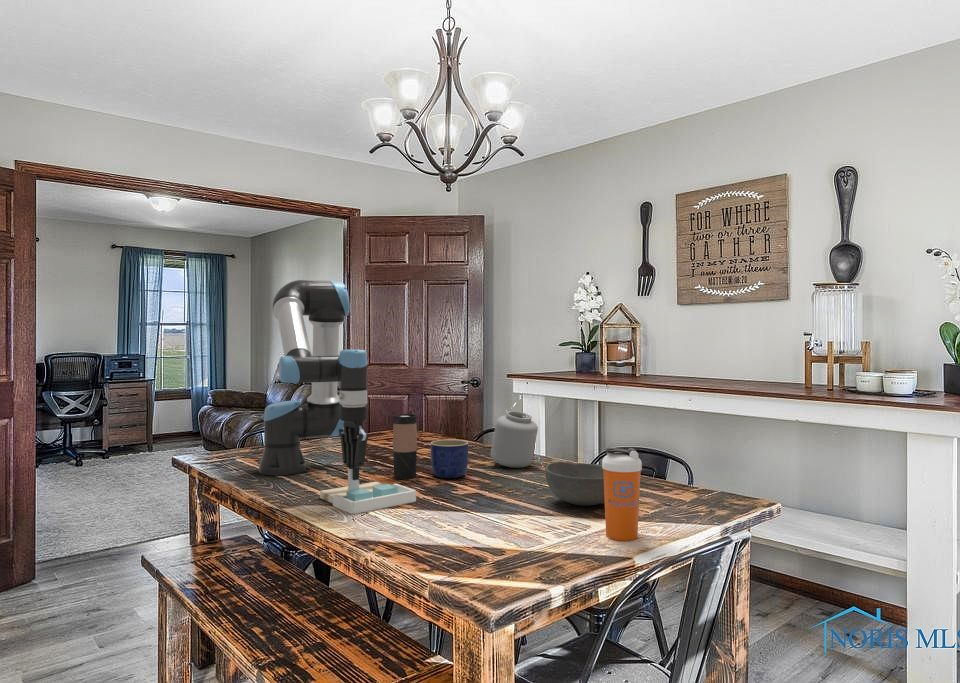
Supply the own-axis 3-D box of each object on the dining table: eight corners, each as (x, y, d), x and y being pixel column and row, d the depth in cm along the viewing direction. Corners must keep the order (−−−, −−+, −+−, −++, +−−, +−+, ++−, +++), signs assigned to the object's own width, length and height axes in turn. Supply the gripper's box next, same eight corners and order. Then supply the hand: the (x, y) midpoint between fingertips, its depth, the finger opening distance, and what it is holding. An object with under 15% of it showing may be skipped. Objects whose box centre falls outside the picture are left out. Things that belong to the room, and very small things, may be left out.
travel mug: (412, 480, 203) (412, 417, 203) (389, 478, 204) (389, 416, 204) (419, 474, 210) (419, 414, 210) (397, 473, 212) (397, 413, 212)
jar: (550, 466, 224) (550, 394, 223) (526, 473, 212) (526, 398, 212) (506, 459, 235) (506, 391, 235) (482, 466, 224) (482, 394, 224)
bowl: (574, 518, 160) (574, 479, 160) (531, 500, 178) (531, 464, 178) (636, 508, 170) (636, 471, 170) (589, 491, 188) (589, 457, 188)
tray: (332, 505, 173) (332, 494, 173) (396, 493, 186) (395, 483, 185) (352, 514, 164) (352, 502, 164) (417, 501, 177) (417, 490, 177)
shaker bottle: (597, 530, 151) (597, 446, 150) (634, 529, 151) (634, 445, 151) (608, 543, 142) (608, 453, 142) (647, 541, 143) (647, 452, 142)
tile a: (372, 497, 179) (372, 486, 179) (388, 494, 182) (388, 484, 182) (382, 501, 175) (382, 490, 175) (397, 498, 178) (397, 487, 178)
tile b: (346, 502, 174) (346, 491, 174) (362, 499, 177) (362, 488, 177) (355, 506, 170) (355, 494, 170) (371, 502, 173) (371, 491, 173)
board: (320, 497, 181) (320, 490, 181) (375, 488, 192) (375, 481, 192) (336, 505, 173) (336, 497, 173) (393, 494, 185) (393, 487, 185)
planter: (423, 478, 205) (423, 444, 205) (440, 470, 217) (440, 438, 217) (459, 481, 201) (459, 446, 201) (474, 473, 212) (474, 440, 212)
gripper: (330, 404, 178) (330, 488, 179) (352, 408, 168) (352, 498, 169) (354, 402, 183) (354, 484, 183) (377, 406, 173) (377, 493, 173)
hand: (353, 491), depth 176 cm, fingers closed
